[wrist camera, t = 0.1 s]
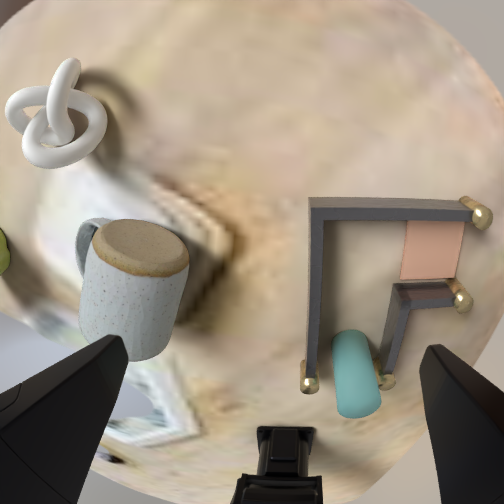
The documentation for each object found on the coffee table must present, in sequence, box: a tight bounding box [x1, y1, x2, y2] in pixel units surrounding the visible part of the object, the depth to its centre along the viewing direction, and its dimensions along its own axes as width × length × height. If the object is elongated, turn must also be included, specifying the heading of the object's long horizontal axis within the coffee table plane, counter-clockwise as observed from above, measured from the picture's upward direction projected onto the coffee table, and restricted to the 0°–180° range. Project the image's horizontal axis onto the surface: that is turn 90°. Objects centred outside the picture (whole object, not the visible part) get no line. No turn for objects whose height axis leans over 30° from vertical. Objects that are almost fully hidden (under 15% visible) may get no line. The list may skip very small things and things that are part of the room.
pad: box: [400, 220, 465, 280], centre depth 21 cm, size 5×5×1 cm
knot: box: [5, 58, 107, 169], centre depth 17 cm, size 8×8×6 cm
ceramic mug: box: [75, 218, 189, 362], centre depth 21 cm, size 11×8×8 cm
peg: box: [331, 330, 381, 418], centre depth 22 cm, size 3×3×7 cm
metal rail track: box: [300, 196, 493, 394], centre depth 22 cm, size 16×14×3 cm
